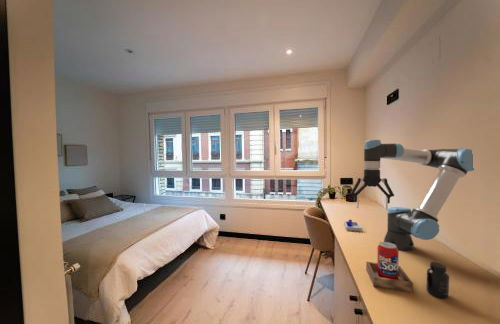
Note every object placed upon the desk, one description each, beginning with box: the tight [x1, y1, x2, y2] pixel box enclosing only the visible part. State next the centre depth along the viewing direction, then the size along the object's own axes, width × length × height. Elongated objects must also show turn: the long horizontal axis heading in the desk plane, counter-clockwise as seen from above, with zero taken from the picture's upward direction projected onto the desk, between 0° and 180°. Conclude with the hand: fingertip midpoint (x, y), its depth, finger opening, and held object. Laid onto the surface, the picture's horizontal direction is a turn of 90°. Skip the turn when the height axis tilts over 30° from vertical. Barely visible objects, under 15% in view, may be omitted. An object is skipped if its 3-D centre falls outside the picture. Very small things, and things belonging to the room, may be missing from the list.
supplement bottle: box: [425, 261, 450, 300], centre depth 85 cm, size 7×7×12 cm
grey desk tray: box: [343, 220, 363, 233], centre depth 161 cm, size 10×14×3 cm
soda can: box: [376, 241, 400, 280], centre depth 95 cm, size 8×8×15 cm
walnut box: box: [365, 261, 414, 294], centre depth 95 cm, size 14×14×4 cm
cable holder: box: [347, 219, 353, 227], centre depth 163 cm, size 8×4×4 cm, turn 145°
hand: (371, 208), depth 115 cm, fingers open, 13 cm apart
